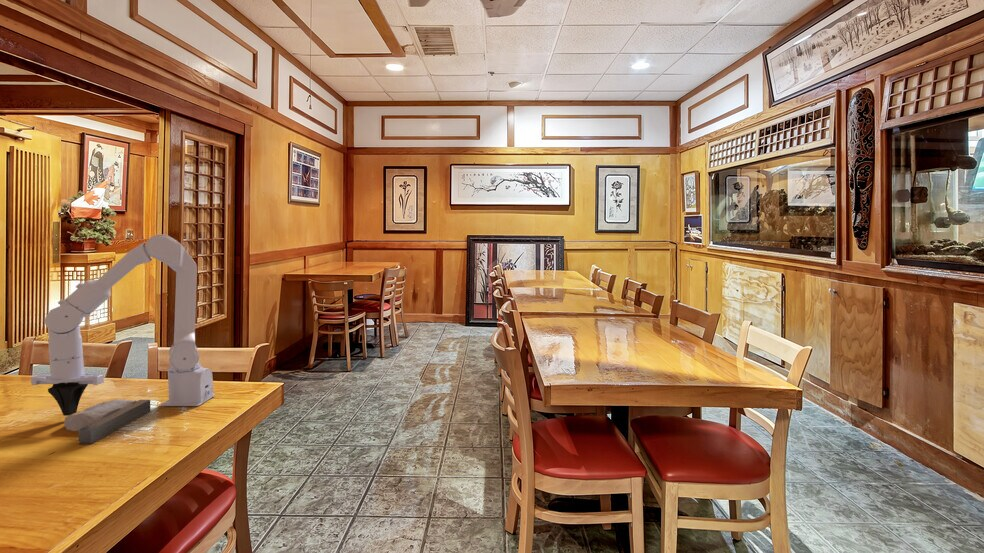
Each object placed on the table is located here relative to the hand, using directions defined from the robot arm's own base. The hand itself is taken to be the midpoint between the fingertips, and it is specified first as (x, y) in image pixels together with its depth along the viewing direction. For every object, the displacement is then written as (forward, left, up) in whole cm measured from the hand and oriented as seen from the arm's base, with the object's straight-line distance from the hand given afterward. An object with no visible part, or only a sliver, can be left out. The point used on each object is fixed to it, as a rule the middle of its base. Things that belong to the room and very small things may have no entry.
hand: (69, 414), depth 107 cm
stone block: (-7, 0, -2) cm, 7 cm away
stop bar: (-14, +4, -2) cm, 14 cm away
